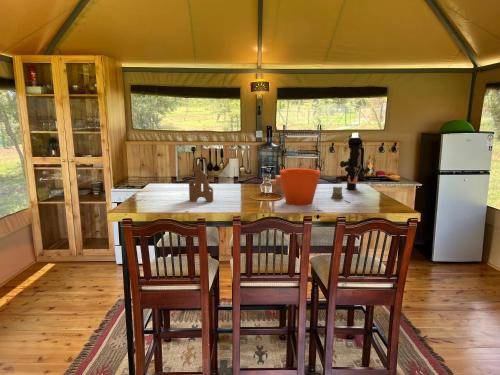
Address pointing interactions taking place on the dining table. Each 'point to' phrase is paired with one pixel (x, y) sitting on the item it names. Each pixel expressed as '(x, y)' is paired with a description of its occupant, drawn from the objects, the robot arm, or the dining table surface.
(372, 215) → the dining table surface
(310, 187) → the flowerpot
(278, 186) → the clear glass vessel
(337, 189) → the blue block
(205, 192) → the wooden toy
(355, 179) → the terracotta block
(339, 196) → the walnut base
